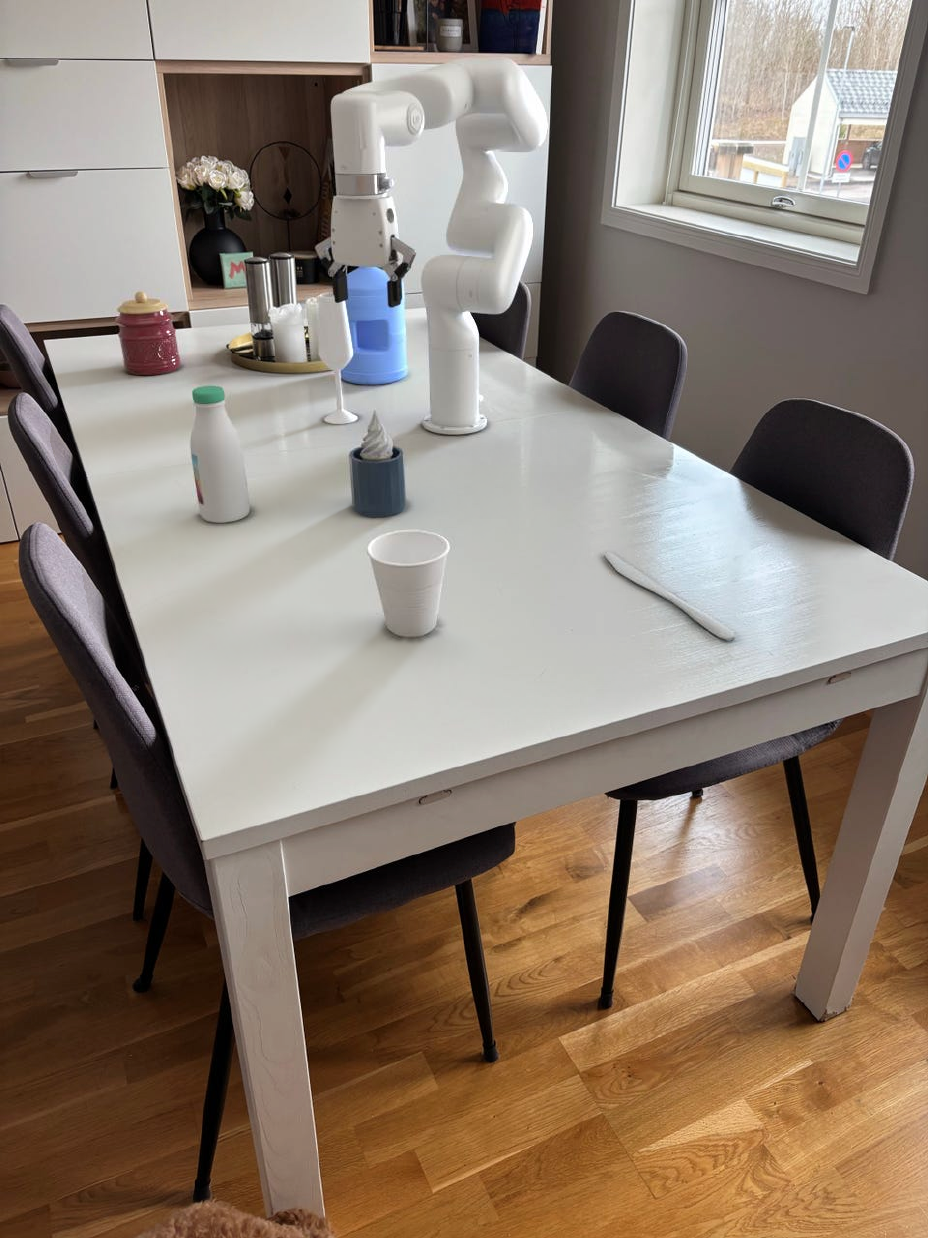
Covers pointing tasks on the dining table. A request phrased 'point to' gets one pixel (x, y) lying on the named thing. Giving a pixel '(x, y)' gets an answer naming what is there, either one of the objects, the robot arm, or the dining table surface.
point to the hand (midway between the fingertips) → (367, 303)
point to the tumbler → (377, 484)
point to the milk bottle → (217, 459)
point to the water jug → (374, 330)
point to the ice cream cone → (376, 442)
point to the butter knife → (670, 597)
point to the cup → (409, 578)
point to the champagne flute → (335, 348)
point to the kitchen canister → (147, 336)
